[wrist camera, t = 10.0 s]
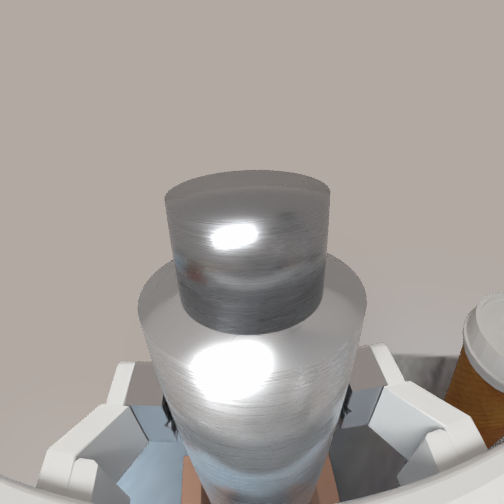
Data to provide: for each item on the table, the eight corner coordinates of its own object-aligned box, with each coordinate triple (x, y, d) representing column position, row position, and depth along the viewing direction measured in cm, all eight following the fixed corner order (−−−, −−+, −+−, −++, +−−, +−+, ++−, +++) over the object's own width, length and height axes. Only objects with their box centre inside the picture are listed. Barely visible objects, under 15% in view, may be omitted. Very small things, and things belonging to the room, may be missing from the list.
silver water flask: (305, 436, 13) (334, 160, 8) (322, 521, 9) (436, 235, 4) (207, 443, 13) (148, 170, 7) (206, 530, 9) (67, 258, 3)
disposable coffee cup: (422, 483, 17) (499, 388, 12) (410, 394, 25) (452, 287, 20) (514, 464, 15) (594, 367, 10) (490, 388, 24) (540, 289, 18)
